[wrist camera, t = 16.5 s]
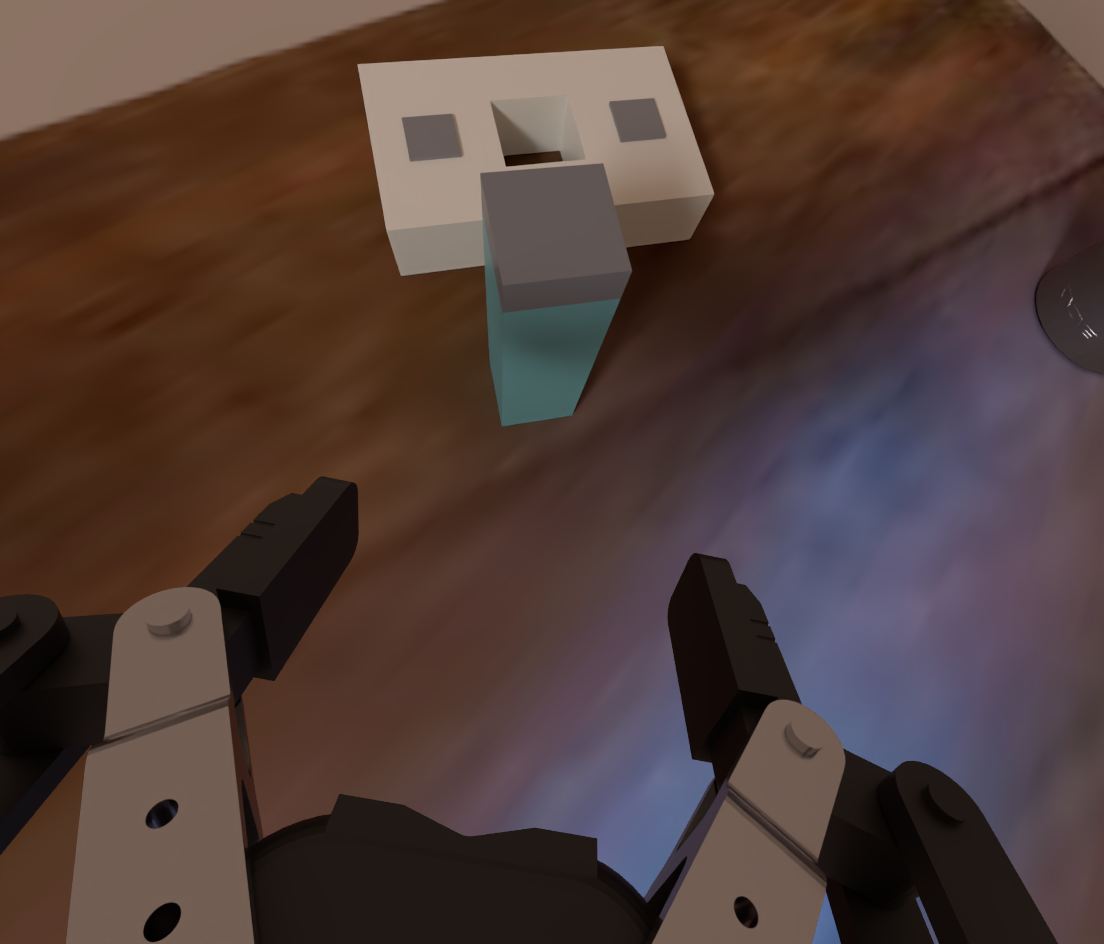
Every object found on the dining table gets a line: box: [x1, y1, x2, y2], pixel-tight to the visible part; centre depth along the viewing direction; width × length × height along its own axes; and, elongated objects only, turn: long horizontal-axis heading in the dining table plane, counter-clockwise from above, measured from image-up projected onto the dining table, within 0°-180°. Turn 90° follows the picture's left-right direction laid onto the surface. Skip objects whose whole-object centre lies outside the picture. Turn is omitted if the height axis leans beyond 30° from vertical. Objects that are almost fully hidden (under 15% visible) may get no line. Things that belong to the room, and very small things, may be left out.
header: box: [358, 46, 714, 276], centre depth 31 cm, size 20×12×4 cm, turn 103°
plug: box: [480, 163, 632, 426], centre depth 23 cm, size 4×4×14 cm
